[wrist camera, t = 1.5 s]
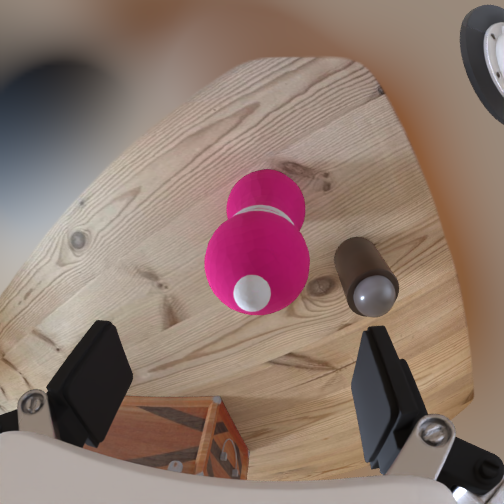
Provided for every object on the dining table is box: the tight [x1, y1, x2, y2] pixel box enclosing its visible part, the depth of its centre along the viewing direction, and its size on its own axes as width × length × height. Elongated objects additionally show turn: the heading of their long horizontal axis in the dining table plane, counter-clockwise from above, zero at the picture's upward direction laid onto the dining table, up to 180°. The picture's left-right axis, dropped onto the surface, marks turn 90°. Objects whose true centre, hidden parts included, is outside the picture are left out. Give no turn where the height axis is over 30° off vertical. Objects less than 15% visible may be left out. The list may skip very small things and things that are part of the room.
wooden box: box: [83, 396, 250, 480], centre depth 43 cm, size 20×41×20 cm, turn 104°
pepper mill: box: [205, 169, 310, 315], centre depth 23 cm, size 7×7×20 cm
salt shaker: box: [334, 237, 399, 317], centre depth 29 cm, size 5×5×10 cm
